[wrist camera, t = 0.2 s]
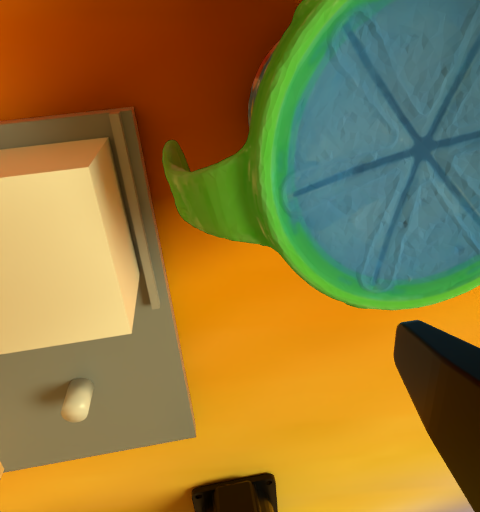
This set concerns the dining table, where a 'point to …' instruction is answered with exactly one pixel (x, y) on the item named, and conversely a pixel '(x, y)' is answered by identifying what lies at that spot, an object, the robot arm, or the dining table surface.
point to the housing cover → (63, 247)
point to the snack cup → (358, 153)
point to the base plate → (105, 349)
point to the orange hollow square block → (1, 470)
